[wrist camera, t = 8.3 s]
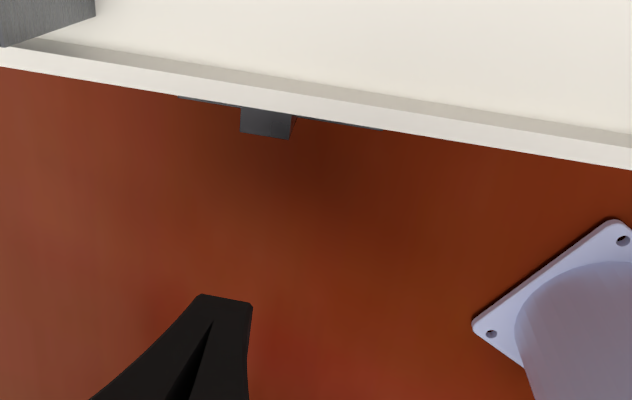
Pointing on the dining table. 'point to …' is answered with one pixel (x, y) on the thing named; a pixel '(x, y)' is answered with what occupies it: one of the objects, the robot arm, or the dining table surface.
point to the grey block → (39, 17)
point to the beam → (376, 64)
